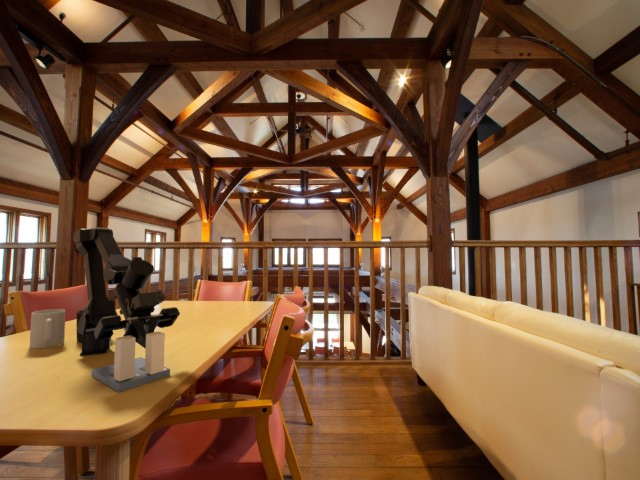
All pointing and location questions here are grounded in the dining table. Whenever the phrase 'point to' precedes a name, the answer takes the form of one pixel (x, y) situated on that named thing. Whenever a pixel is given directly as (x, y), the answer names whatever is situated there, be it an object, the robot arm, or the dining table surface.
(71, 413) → the dining table surface
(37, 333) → the mug
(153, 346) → the tab
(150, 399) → the dining table surface
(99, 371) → the grey base plate
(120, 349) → the tab
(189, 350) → the dining table surface
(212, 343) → the dining table surface
